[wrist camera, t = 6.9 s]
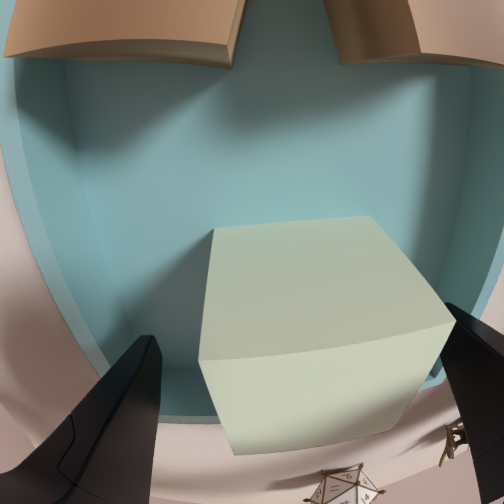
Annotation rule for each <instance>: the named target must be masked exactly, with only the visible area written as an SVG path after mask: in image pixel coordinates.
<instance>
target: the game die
mask: <svg viewBox="0 0 504 504" xmlns="http://www.w3.org/2000/svg"><path fill="white" fill-rule="evenodd" d="M362 467H363V463H362V464H360V466H359V469H356V470H351V471H346V472H340V473H335V474H329V475H327V473H326V471H323V470H322V474H323V475H324V476H325V477H324V478H323V480H322V482H321V483H320V485H319V486H318V488H317V489H316V491H315V493H314V494H313V496H312V497H311V499H304V500H303V501H305V502H309V501H310V502H311V504H372V503H373V501H374V500H375V499H376V497H377V496H378V494H384V493H385V492H386V491H385V490H381V491H378V490H377V489H376V487H375V486H374V485H373V484H372V483H371V481H370V480H369V479H368V478H367V477H366V475H365V474H364V473H363V472H362V470H361V469H362Z"/></svg>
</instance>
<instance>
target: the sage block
mask: <svg viewBox="0 0 504 504" xmlns="http://www.w3.org/2000/svg"><path fill="white" fill-rule="evenodd" d="M455 322H456V320H455V318H454V317H453V315H452V314H451V313H450V311H449V310H448V309H447V307H446V306H445V304H444V303H443V302H442V300H441V299H440V298H439V296H438V295H437V294H436V293H435V291H434V290H433V289H432V287H431V286H430V285H429V284H428V282H427V281H426V280H425V278H424V277H423V276H422V275H421V274H420V272H419V271H418V270H417V269H416V267H415V266H414V265H413V264H412V263H411V261H410V260H409V259H408V258H407V257H406V255H405V254H404V253H403V252H402V251H401V250H400V248H399V247H398V246H397V245H396V244H395V243H394V242H393V240H392V239H391V238H390V237H389V236H388V235H387V234H386V233H385V231H384V230H383V229H382V228H381V227H380V226H379V225H378V224H377V223H376V222H375V221H374V219H373V218H372V217H371V216H357V217H342V218H328V219H314V220H301V221H289V222H277V223H265V224H253V225H242V226H232V227H221V228H214V233H213V240H212V247H211V254H210V262H209V270H208V277H207V285H206V293H205V302H204V310H203V319H202V328H201V338H200V347H199V357H198V362H199V365H200V368H201V371H202V373H203V376H204V379H205V382H206V385H207V387H208V390H209V393H210V396H211V398H212V401H213V404H214V406H215V409H216V411H217V414H218V417H219V419H220V422H221V424H222V427H223V429H224V432H225V434H226V436H227V439H228V441H229V444H230V446H231V448H232V451H233V453H234V455H252V454H266V453H276V452H285V451H293V450H301V449H307V448H314V447H320V446H325V445H330V444H335V443H340V442H345V441H350V440H354V439H358V438H362V437H366V436H370V435H374V434H377V433H381V432H384V431H388V430H391V429H392V428H393V427H394V426H395V424H396V423H397V422H398V420H399V419H400V417H401V416H402V415H403V413H404V412H405V410H406V409H407V407H408V406H409V404H410V403H411V401H412V400H413V398H414V397H415V395H416V394H417V392H418V390H419V389H420V387H421V386H422V384H423V382H424V381H425V379H426V377H427V376H428V374H429V372H430V371H431V369H432V367H433V365H434V363H435V362H436V360H437V358H438V356H439V354H440V352H441V351H442V349H443V347H444V345H445V343H446V341H447V339H448V337H449V335H450V333H451V331H452V329H453V326H454V324H455Z"/></svg>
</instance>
